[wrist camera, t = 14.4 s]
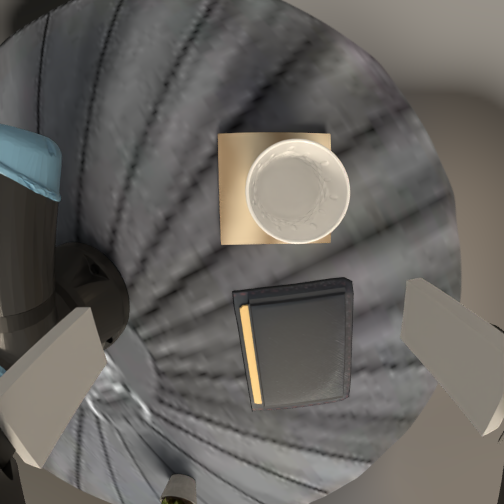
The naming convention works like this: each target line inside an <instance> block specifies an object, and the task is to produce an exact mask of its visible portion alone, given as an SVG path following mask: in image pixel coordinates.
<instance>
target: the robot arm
mask: <svg viewBox="0 0 504 504" xmlns="http://www.w3.org/2000/svg"><path fill="white" fill-rule="evenodd" d="M61 167H62V154H61V150H60V148H59V146H58V145H57V144H56V143H55V142H54V141H53V140H51V139H50V138H48V137H45V136H43V135H40V134H37V133H34V132H30V131H27V130H23V129H20V128H16V127H12V126H8V125H4V124H0V504H26V503H25V499H24V495H23V491H22V487H21V482H20V477H19V472H18V466H17V463H16V460H15V459H14V458H13V456H12V455H13V454H14V452H15V451H16V452H17V453H18V454H19V455H20V457H21V458H22V459H23V461H24V462H25V463H27V464H30V465H32V466H35V467H37V468H42V467H43V465H44V463H45V461H46V460H47V458H48V456H49V455H50V453H51V451H52V449H53V448H54V446H55V444H56V443H57V441H58V439H59V438H60V436H61V434H62V433H63V431H64V429H65V428H66V426H67V424H68V423H69V421H70V420H71V418H72V416H73V415H74V413H75V412H76V410H77V408H78V407H79V405H80V404H81V402H82V400H83V399H84V397H85V396H86V394H87V393H88V391H89V390H90V388H91V386H92V385H93V383H94V382H95V380H96V379H97V377H98V376H99V374H100V373H101V371H102V370H103V368H104V367H105V365H106V364H107V360H106V357H105V354H104V351H103V350H105V349H107V348H108V347H110V346H111V345H112V344H113V343H114V342H115V341H116V340H117V339H118V338H119V336H120V335H121V334H122V333H123V331H124V329H125V327H126V325H127V322H128V318H129V298H128V293H127V290H126V286H125V284H124V281H123V279H122V277H121V275H120V274H119V272H118V270H117V269H116V267H115V266H114V265H113V264H112V262H111V261H110V260H109V259H108V258H107V257H106V256H105V255H104V254H102V253H101V252H100V251H98V250H97V249H95V248H93V247H91V246H89V245H86V244H83V243H77V242H71V243H65V244H62V245H60V246H57V247H55V242H56V224H57V211H58V201H59V202H60V201H61V195H60V194H59V189H60V177H61ZM400 339H401V340H402V341H403V342H404V343H405V344H406V345H407V347H408V348H409V349H410V350H411V351H412V352H413V353H414V355H415V356H416V357H417V358H418V359H419V360H420V361H421V363H422V364H423V365H424V366H425V367H426V368H427V370H428V371H429V372H430V373H431V374H432V375H433V377H434V378H435V379H436V380H437V381H438V383H439V384H440V385H441V386H442V387H443V388H444V390H445V391H446V392H447V393H448V394H449V396H450V397H451V398H452V399H453V401H454V402H455V403H456V404H457V405H458V407H459V408H460V409H461V410H462V411H463V413H464V414H465V415H466V417H467V418H468V419H469V420H470V422H471V423H472V424H473V426H474V427H475V428H476V429H477V431H478V432H479V433H480V435H481V436H484V435H486V434H488V433H490V432H491V431H493V430H495V429H497V428H498V427H499V426H500V424H501V422H502V419H503V418H504V331H503V330H502V329H500V328H499V327H497V326H496V325H493V324H491V323H488V322H487V321H485V320H484V319H482V318H481V317H480V316H478V315H477V314H475V313H474V312H472V311H471V310H470V309H468V308H467V307H465V306H464V305H462V304H461V303H459V302H458V301H456V300H455V299H453V298H452V297H450V296H449V295H447V294H446V293H444V292H443V291H441V290H439V289H438V288H436V287H435V286H433V285H432V284H430V283H429V282H427V281H425V280H424V279H422V278H418V279H411V280H407V282H406V294H405V304H404V313H403V321H402V328H401V335H400ZM503 439H504V431H503V433H502V435H501V437H500V438H499V441H498V444H501V442H502V440H503ZM497 504H504V469H503V475H502V482H501V487H500V493H499V498H498V503H497Z"/></svg>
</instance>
